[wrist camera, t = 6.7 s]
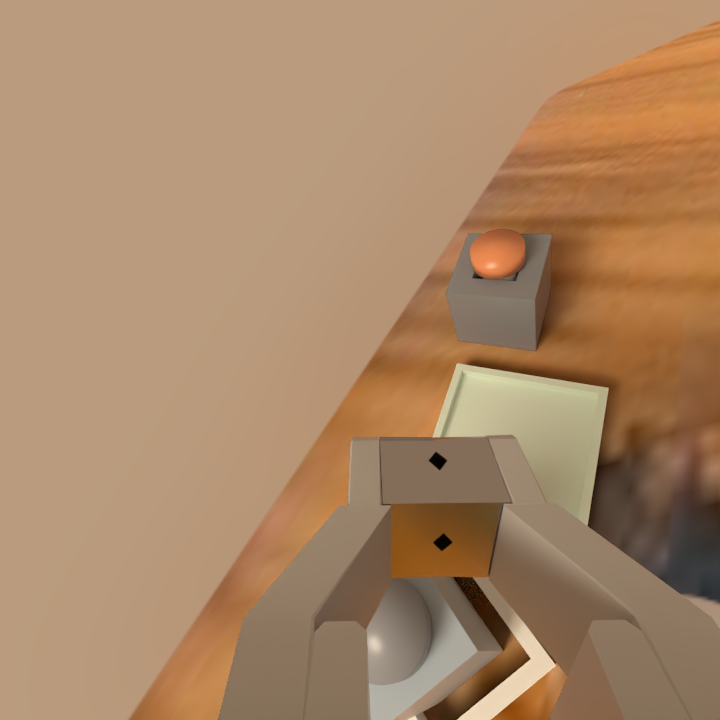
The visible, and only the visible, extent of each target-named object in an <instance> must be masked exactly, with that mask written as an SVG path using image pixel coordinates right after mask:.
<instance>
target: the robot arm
mask: <svg viewBox="0 0 720 720" xmlns="http://www.w3.org/2000/svg"><path fill="white" fill-rule="evenodd" d="M439 576H440V577H488V578H489V581H490V582H491V583H492V585H493V586H494V587H495V588H496V590H497V591H498V592H499V593H500V594H501V596H502V597H503V598H504V599H505V600H506V602H507V603H508V604H509V605H510V607H511V608H512V609H513V610H514V611H515V613H516V614H517V615H518V616H519V617H520V619H521V620H522V621H523V622H524V624H525V625H526V626H527V627H528V628H529V630H530V631H531V632H532V633H533V635H534V636H535V637H536V638H537V639H538V641H539V642H540V643H541V644H542V645H543V647H544V648H545V649H546V650H547V652H548V653H549V654H550V655H551V656H552V658H553V659H554V660H555V661H556V663H557V664H558V665H559V666H560V667H561V669H562V670H563V671H564V672H565V673H566V675H567V676H568V677H567V680H566V682H565V684H564V686H563V689H562V691H561V693H560V696H559V698H558V700H557V702H556V705H555V707H554V709H553V711H552V714H551V716H550V720H720V628H719V627H718V626H717V624H716V623H715V621H714V620H713V618H712V617H711V616H709V615H708V614H706V613H705V612H704V611H702V610H701V609H700V608H698V607H697V606H695V605H694V604H693V603H691V602H690V601H689V600H687V599H686V598H685V597H683V596H682V595H681V594H679V593H678V592H677V591H675V590H674V589H672V588H671V587H670V586H668V585H667V584H666V583H664V582H663V581H662V580H660V579H659V578H657V577H656V576H655V575H653V574H652V573H651V572H649V571H648V570H647V569H645V568H644V567H642V566H641V565H640V564H638V563H637V562H636V561H634V560H633V559H632V558H630V557H629V556H627V555H626V554H625V553H623V552H622V551H621V550H619V549H618V548H617V547H615V546H614V545H612V544H611V543H610V542H608V541H607V540H606V539H604V538H603V537H602V536H600V535H599V534H597V533H596V532H595V531H593V530H592V529H591V528H589V527H588V526H587V525H585V524H584V523H582V522H581V521H580V520H578V519H577V518H576V517H574V516H573V515H572V514H570V513H569V512H567V511H566V510H565V509H563V508H562V507H561V506H559V505H558V504H557V503H547V501H546V499H545V497H544V495H543V493H542V491H541V489H540V487H539V485H538V483H537V480H536V478H535V476H534V474H533V472H532V470H531V468H530V466H529V464H528V461H527V459H526V457H525V455H524V453H523V451H522V449H521V447H520V445H519V443H518V440H517V438H516V437H514V436H513V435H488V436H471V437H380V438H378V437H352V441H351V450H350V470H349V491H348V506H339V507H338V508H337V509H336V510H335V512H334V513H333V514H332V515H331V516H330V518H329V519H328V520H327V521H326V522H325V523H324V525H323V526H322V527H321V528H320V529H319V530H318V532H317V533H316V534H315V535H314V536H313V537H312V539H311V540H310V541H309V542H308V543H307V544H306V546H305V547H304V548H303V549H302V550H301V552H300V553H299V554H298V555H297V556H296V557H295V559H294V560H293V561H292V562H291V563H290V564H289V566H288V567H287V568H286V569H285V570H284V571H283V573H282V574H281V575H280V576H279V577H278V578H277V580H276V581H275V582H274V583H273V584H272V586H271V587H270V588H269V589H268V590H267V591H266V593H265V594H264V595H263V596H262V597H261V598H260V600H259V601H258V602H257V603H256V604H255V605H254V607H253V608H252V609H251V610H250V611H249V612H248V614H247V615H246V616H245V617H244V618H243V622H242V626H241V630H240V634H239V638H238V642H237V646H236V650H235V654H234V658H233V662H232V666H231V670H230V674H229V678H228V682H227V686H226V690H225V694H224V698H223V702H222V706H221V710H220V714H219V718H218V720H371V715H370V691H369V667H368V644H367V631H366V629H367V627H368V625H369V623H370V621H371V619H372V617H373V615H374V614H375V612H376V610H377V608H378V606H379V604H380V602H381V600H382V598H383V596H384V594H385V593H386V591H387V589H388V587H389V585H390V583H391V578H411V577H439Z"/></svg>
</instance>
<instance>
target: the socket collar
mask: <svg viewBox="0 0 720 720" xmlns="http://www.w3.org/2000/svg"><path fill="white" fill-rule="evenodd" d="M473 579H474V580H475V581H476V583H477V584H478V586H479V587H480V588H481V590H482V591H483V592H484V594H485V595H486V597H487V598H488V599H489V601H490V602H491V604H492V605H493V606H494V608H495V609H496V611H497V612H498V613H499V615H500V616H501V618H502V619H503V620H504V622H505V623H506V625H507V626H508V627H509V629H510V630H511V632H512V633H513V634H514V636H515V637H516V639H517V640H518V641H519V643H520V644H521V646H522V647H523V648H524V650H525V651H526V653H527V654H528V655H529V657H530V658H531V659H530V660H529V661H528V662H527V663H525V664H524V665H523V666H522V667H520V668H519V669H518V670H517V671H516V672H514V673H513V674H512V675H511V676H509V677H508V678H507V679H506V680H505V681H503V682H502V683H501V684H500V685H499V686H497V687H496V688H495V689H494V690H492V691H491V692H490V693H489V694H488V695H486V696H485V697H484V698H483V699H481V700H480V701H479V702H478V703H477V704H475V705H474V706H473V707H472V708H470V709H469V710H468V711H467V712H466V713H464V714H463V715H462V716H461V717H460V718H458V719H457V720H491V719H492V718H493V717H494V716H496V715H497V714H498V713H499V712H500V711H502V710H503V709H504V708H505V707H506V706H508V705H509V704H510V703H511V702H513V701H514V700H515V699H516V698H517V697H519V696H520V695H521V694H522V693H523V692H525V691H526V690H527V689H528V688H529V687H531V686H532V685H533V684H534V683H536V682H537V681H538V680H539V679H540V678H542V677H543V676H544V675H545V674H546V673H548V672H549V671H550V670H551V669H552V668H554V667H555V666H556V665H555V663H554V662H553V661H552V659H551V658H550V657H549V655H548V654H547V653H546V651H545V650H544V649H543V647H542V646H541V645H540V643H539V642H538V641H537V639H536V638H535V637H534V635H533V634H532V633H531V631H530V630H529V629H528V627H527V626H526V625H525V624H524V622H523V621H522V620H521V619H520V617H519V616H518V615H517V614H516V613H515V611H514V610H513V609H512V608H511V607H510V605H509V604H508V603H507V602H506V600H505V599H504V598H503V597H502V596H501V594H500V593H499V592H498V591H497V590H496V588H495V587H494V586H493V585H492V583H491V582H490V581H489V578H488V577H473ZM408 720H427V718H426V716H425V714H424V713H423V712H421V713H419V714H417V715H415V716H414V717H412V718H410V719H408Z"/></svg>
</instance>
